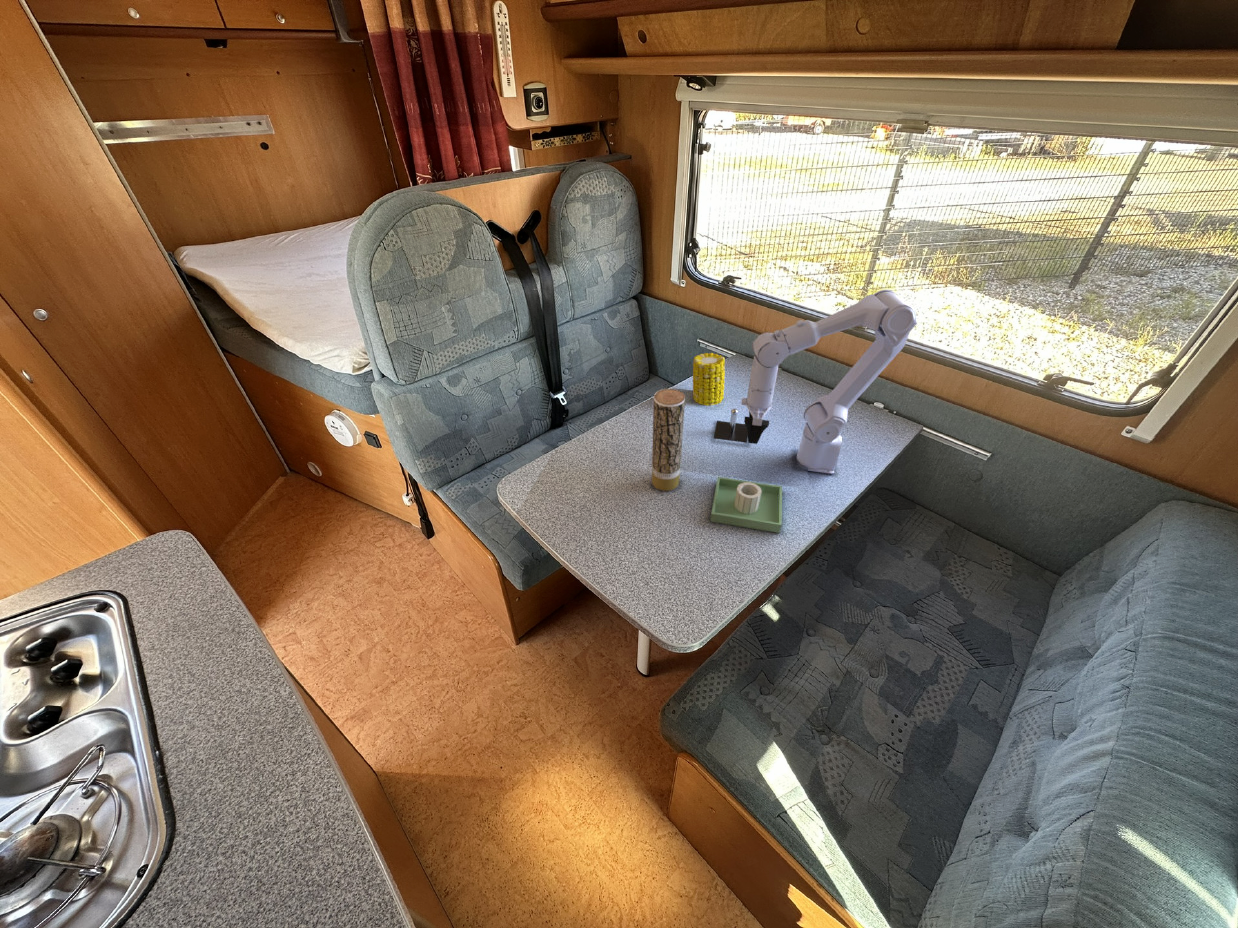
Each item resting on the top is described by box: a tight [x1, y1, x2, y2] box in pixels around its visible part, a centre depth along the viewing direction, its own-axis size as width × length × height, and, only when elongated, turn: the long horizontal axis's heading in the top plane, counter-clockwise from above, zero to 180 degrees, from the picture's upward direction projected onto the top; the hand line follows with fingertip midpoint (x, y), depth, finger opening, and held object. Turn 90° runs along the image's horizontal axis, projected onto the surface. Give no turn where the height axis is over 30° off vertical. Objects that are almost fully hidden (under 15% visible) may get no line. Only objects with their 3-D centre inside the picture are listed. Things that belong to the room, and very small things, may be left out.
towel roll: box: [734, 481, 761, 514], centre depth 113 cm, size 5×5×5 cm
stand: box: [713, 408, 748, 444], centre depth 136 cm, size 9×9×8 cm
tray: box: [710, 476, 783, 534], centre depth 114 cm, size 15×13×2 cm
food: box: [692, 352, 726, 407], centre depth 148 cm, size 15×12×10 cm
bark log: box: [651, 388, 686, 492], centre depth 115 cm, size 7×7×25 cm
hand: (753, 433), depth 122 cm, fingers open, 7 cm apart
